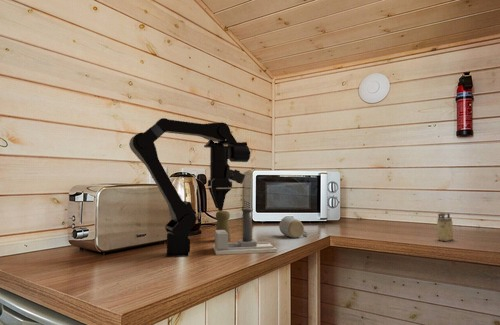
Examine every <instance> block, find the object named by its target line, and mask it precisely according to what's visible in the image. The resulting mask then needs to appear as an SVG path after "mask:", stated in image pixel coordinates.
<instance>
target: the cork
mask: <svg viewBox="0 0 500 325" xmlns="http://www.w3.org/2000/svg"><path fill="white" fill-rule="evenodd" d="M230 214H231V213H230V212H229V211H227V210H222V211H219V210H218V211H217V212H216V213H215V219H216V228H215V230H225V231H226V232H227V233H228V243H231V241H232V238H231V232H230V224H229V223H230V222H229V219H230V217H231V216H230Z"/></svg>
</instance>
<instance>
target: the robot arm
mask: <svg viewBox="0 0 500 325" xmlns="http://www.w3.org/2000/svg"><path fill="white" fill-rule="evenodd" d="M165 133H168V134H177V135H185V136H196V137H199V138H203V139H204V140H207V142H206V144H204V145H203V147H204V148H206V149H207V148H210V149H209V150H210V154H209V156H210V157H209V158H210V160H209V161H210V164H209V168H210V169H209V174H210V175H209V178H208V180H207V187H208V192H209V194H210V196H211V198H212V202H213V205H214V207H215V209H217V210H218V211H223V208H224V204H225V199H226V196H227V194H228V193H229V192H230V191H231V190H232V188H233V181H234V182H236V183H237V184H240V185H242V184H243V183H244V180H245V177H246V174H244V173H241V171H240V170H237V169H234V170H233V169H231V168H230V165H229V163H228V162H229V161H230V162H231V163H247V162H249V160H250V159H251V151H250V147H249V146H248V142H247V141H242V142H241V141H239V142H238V141H237V140H236V139H235V136H234V135H233V134H232V132H231V129H230V126H229V125H228V124H227V123H226V122H211V123H200V122H199V123H197V122H191V121H181V120H175V119H169V118H164V117H162V118H159V119H158V120H157V121H156V122H155V123H154V124H153V125H152V126H151V127H149V128H148V129H146V130H145V131H144V132H139V133H136V134H135V135H133V136H132V137H131V138H130V139H129V143H128V144H129V148H130V150H131V152H132V153H133V154H134V155H135V156H136V157H137V159H138V160H139V161H141V162H142V164H143V165H145V167H146V170H148V172H149V174H150V175H151V178H152V179H153V182H155V185H156V186H157V188H158V190H159V191H160V193H161V195H162V197H163V199H164V201H165V203H166V204H167V207H168V211H169V215H170V218H171V219H170V220H169V221H168V222H167V224H165V226H164V229H165V231H166V253H165V254H166V255H165V256H166V257H168V258H169V257H187V256H189V253H190V252H191V237H190V234H191V232H192V228H193V227H195V226H196V222H197V216H196V215H197V212H196V211H195V210H194V209H193V208H194V207H193V205H192V203H191V201H187V200H182V199H181V197H180V195H179V193H178V191H177V190H176V188H175V186H174V184H173V183H172V180H171V179H170V177H169V175H168V173H167V172H166V170H165V168H164V167H163V165H162V162H161V161H160V159H159V157H158V153H157V152H158V151H157V148H156V145H155V143H154V142H156V141H157V140H158V139H159V138H160V137H161V136H162V135H164V134H165ZM228 160H229V161H228Z"/></svg>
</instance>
